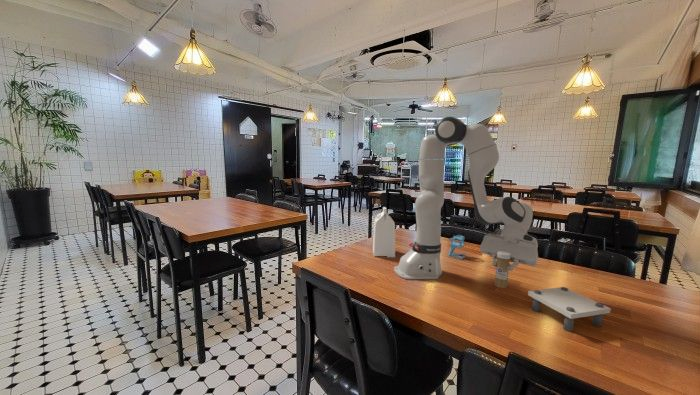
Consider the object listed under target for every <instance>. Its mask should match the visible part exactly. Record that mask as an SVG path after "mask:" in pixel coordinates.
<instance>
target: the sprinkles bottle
mask: <svg viewBox="0 0 700 395" xmlns="http://www.w3.org/2000/svg"><path fill="white" fill-rule="evenodd" d="M510 258H511V254H510V253H509V252H505V251H498V252H497V259H496V261H497V266H495V277H494V278H495V279H494V286H496V287H497V288H502V289H506V288H508V280H509V272H510V270H508V266H509V264H510V261H511V260H510Z"/></svg>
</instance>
